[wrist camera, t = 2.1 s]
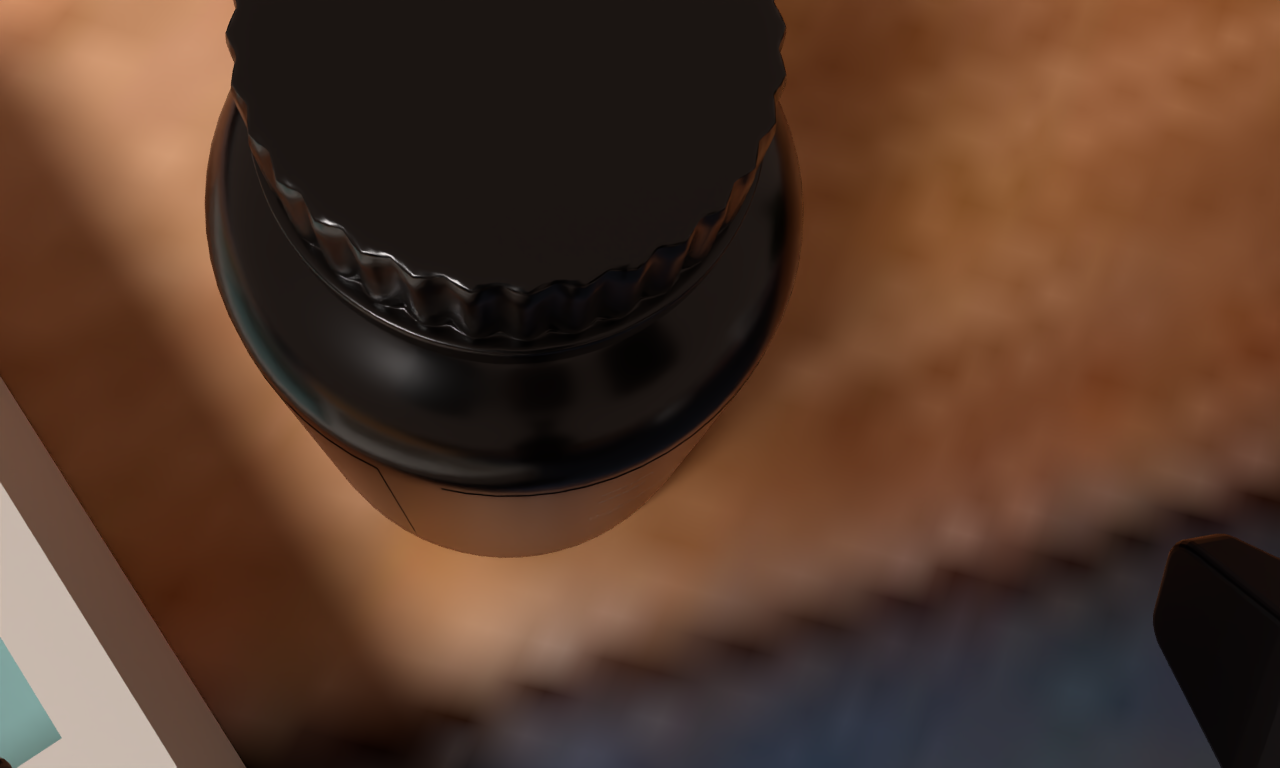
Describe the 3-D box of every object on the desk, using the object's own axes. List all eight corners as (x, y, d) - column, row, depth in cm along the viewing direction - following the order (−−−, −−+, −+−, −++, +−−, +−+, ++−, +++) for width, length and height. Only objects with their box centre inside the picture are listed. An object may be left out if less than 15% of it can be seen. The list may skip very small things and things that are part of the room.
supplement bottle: (649, 165, 23) (815, -348, 11) (733, 518, 22) (1017, 342, 10) (280, 225, 22) (48, -279, 10) (344, 600, 21) (160, 510, 9)
